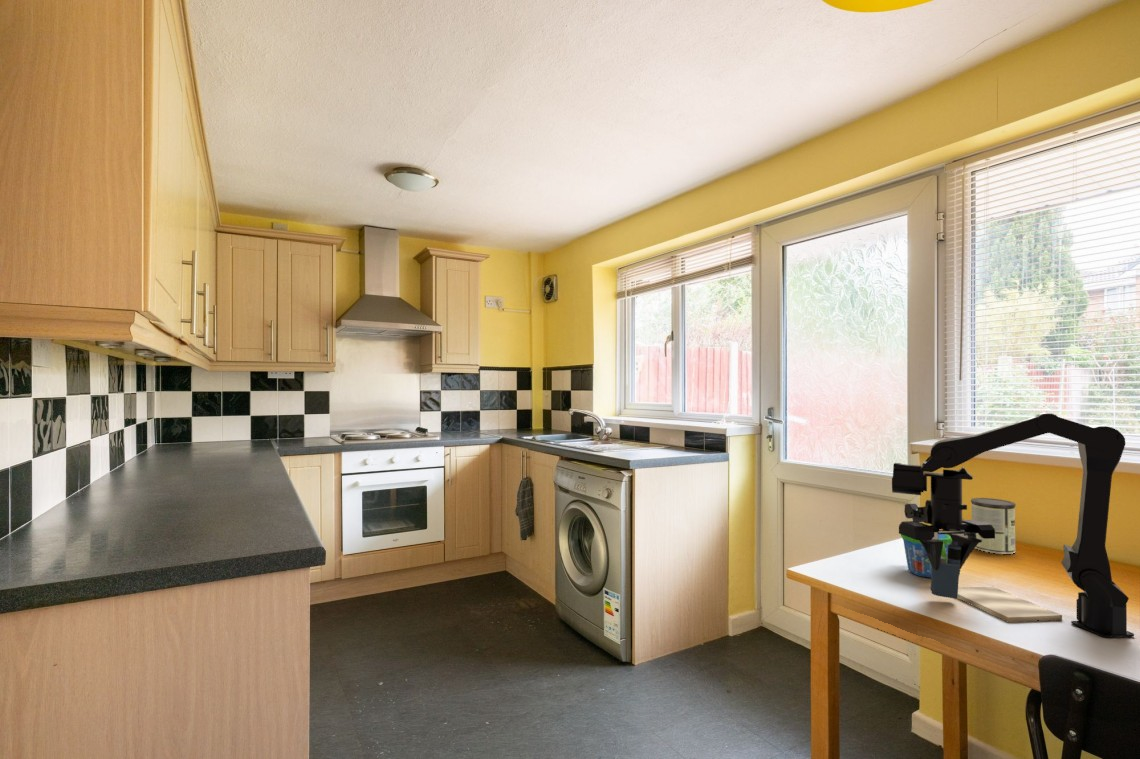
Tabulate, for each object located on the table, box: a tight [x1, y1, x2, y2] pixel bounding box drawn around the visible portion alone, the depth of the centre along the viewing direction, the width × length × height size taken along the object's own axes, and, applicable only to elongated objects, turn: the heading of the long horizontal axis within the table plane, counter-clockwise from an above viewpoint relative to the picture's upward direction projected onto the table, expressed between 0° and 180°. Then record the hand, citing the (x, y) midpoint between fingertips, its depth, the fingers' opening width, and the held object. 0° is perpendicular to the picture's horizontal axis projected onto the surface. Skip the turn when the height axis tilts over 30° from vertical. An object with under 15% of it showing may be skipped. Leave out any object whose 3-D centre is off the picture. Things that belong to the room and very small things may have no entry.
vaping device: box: [930, 541, 961, 599], centre depth 120 cm, size 3×5×12 cm, turn 77°
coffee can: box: [970, 497, 1017, 555], centre depth 160 cm, size 10×10×14 cm
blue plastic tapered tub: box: [900, 534, 952, 579], centre depth 138 cm, size 16×10×10 cm
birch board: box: [956, 586, 1063, 623], centre depth 118 cm, size 16×12×1 cm
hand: (946, 569), depth 120 cm, fingers closed on vaping device, 5 cm apart
